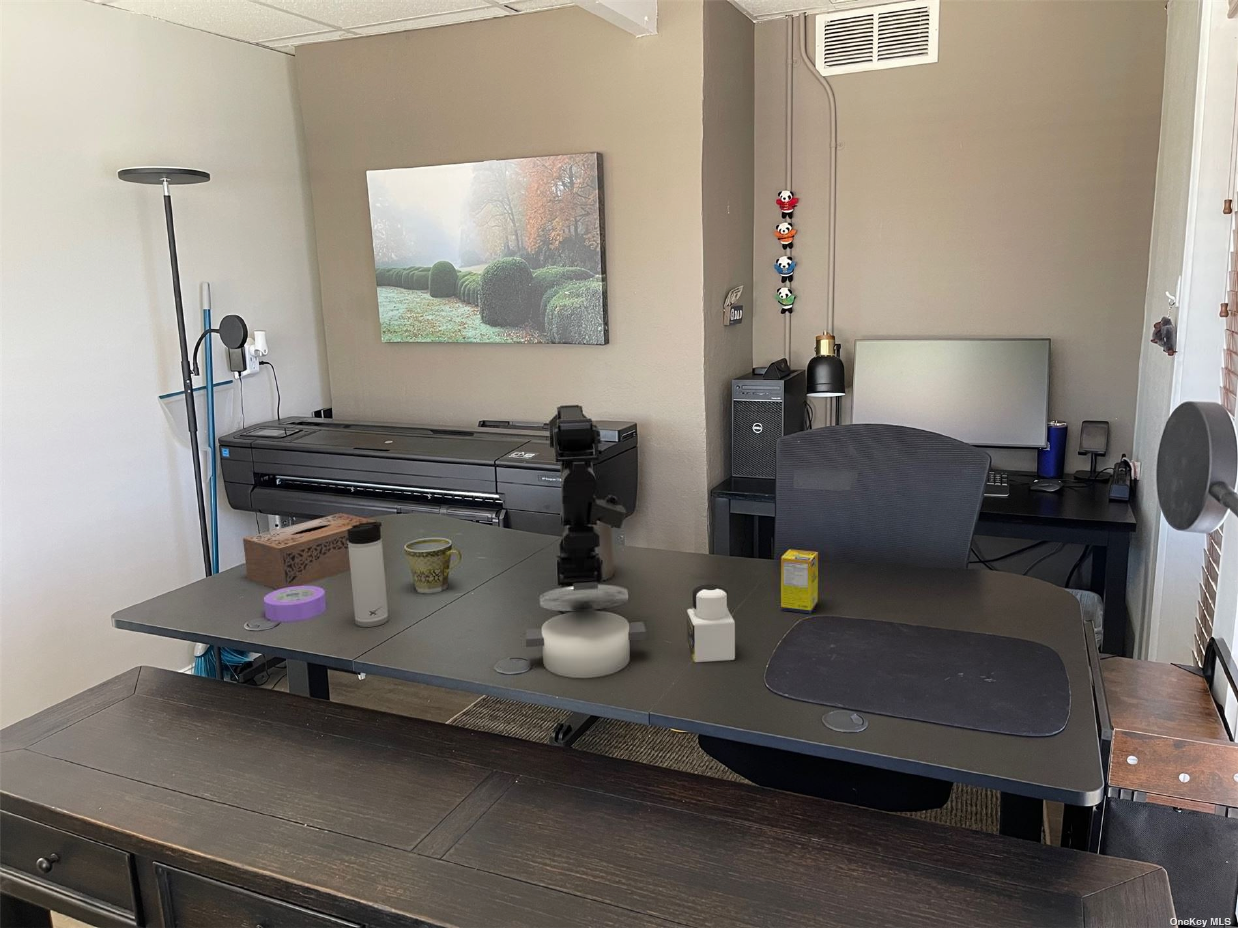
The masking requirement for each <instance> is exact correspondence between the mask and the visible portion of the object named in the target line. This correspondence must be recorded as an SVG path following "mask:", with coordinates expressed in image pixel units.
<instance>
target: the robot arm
mask: <svg viewBox="0 0 1238 928" xmlns="http://www.w3.org/2000/svg"><path fill="white" fill-rule="evenodd" d="M593 423H594V422H593V420H592V418H588V417H587V416H586V415H585V414H584V412H583V406H582V405H579V404H571V405H569V404H568V405H567V404H566V405H560V406H557V407H556V414H555V415H554V416H553V417H552V418H551V419H550V420H549V422H548V441H549V449H551V448H552V449H553V450H552V451H553V459H554V461H555V463H557V464H558V466H559V467H560V468H559V469H560V483H561V485H560V488H561V492H560V493H561V510H560V511H559V514H560V525H561V526H563V527H565V529H564V530H562V531H561V535H562V538H561V541H560V543H559V546H558V549H559V550H558V551H559V554H558V555H556V556H555V568H556V570H555V571H556V584H557V586H558V587H559V586H560V588H564V587H570V586H573V583H588V582H598V584H600V583H601V582H600V581H602V580H603V575H602V570H603V560H602V559H601V558H600V556H599V553H596V551H595V547H599V546H600V539H599V533H598V530H597V529H596V528H594V527H593V526H589V525H597V521H599V522H602V523H605V524H608V525H611V527H612V526H613V528H616V529H621V528H622V526H623V523H624V521H625V517H626V515H627V511H626V508H625V507H624V506H623V505H622V504H618V499H617V496H614V495H610V494H608V495H607V497H605V498H604V499H602V498H600V499H597V497H596V492H597V490H598V489H597V488H598V482H597V479H596V476H595V473H594V470H593V462H594V461H600V455H602V454H603V449H602V448H603V447H602V439H601V431H600V429H599V428H598V425H597V424H593ZM592 461H593V462H592ZM602 582H603V581H602ZM558 611H559V612H561V613H562V614H565V613H570V612H572V611H560V610H558ZM594 611H602V608H601V609H594Z"/></svg>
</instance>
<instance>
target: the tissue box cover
mask: <svg viewBox="0 0 1238 928" xmlns="http://www.w3.org/2000/svg"><path fill="white" fill-rule="evenodd" d="M367 522H378V521H377V520H372V519H368V518H363V517H358V516H354V515H350V514H346V513H341V512H339V513H336V514H335V513H334V514H332V515H329V516H328V515H327V516H323V517H321V518H316V519H313V520H308V521H305V522H301V523H297V524H294V525H289V526H285V527H282V528H277V529H273V530H270V531H266V532H261V533H258V534H254V535H250V536H247V537H243V538H242V543H243V550H244V559H245V560H244V561H245V568H246V575H247V580H248V581H251V582H254V583H256V584H260V585H264V586H266V587H270V588H273V589H275V590H279V589H283V588H288V587H295V586H306V585H309V584H311V583H314V582H317V581H320V580H323V579H327V578H330V577H332V576H335V575H338V574H341V573H346V572H348V571H351V569H350V559H349V548H348V545H349V544H348V534H347V529H350V528H352V526H354V525H357V524H361V523H367Z"/></svg>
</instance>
